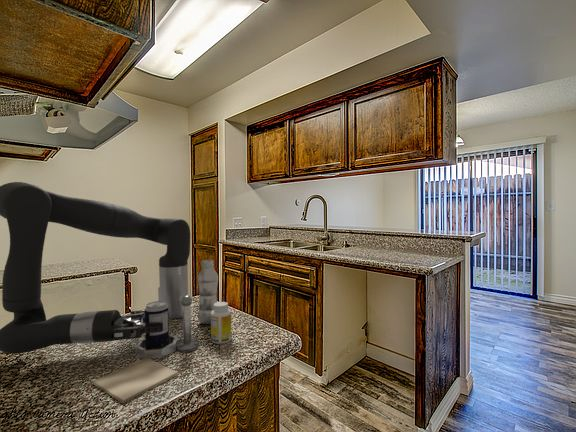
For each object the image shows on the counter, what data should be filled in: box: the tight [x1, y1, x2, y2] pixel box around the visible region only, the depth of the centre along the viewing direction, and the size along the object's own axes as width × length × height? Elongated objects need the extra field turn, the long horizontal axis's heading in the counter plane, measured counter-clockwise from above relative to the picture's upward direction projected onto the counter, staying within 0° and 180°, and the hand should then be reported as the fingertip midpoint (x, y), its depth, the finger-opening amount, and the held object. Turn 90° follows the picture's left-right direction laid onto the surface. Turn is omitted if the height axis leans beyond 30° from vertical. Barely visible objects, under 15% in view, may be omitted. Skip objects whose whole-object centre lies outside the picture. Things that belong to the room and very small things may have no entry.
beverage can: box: [144, 300, 170, 349], centre depth 81 cm, size 6×6×12 cm
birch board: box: [92, 358, 178, 405], centre depth 67 cm, size 12×12×1 cm
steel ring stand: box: [135, 295, 200, 359], centre depth 81 cm, size 13×13×14 cm
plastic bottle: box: [197, 259, 219, 325], centre depth 99 cm, size 6×7×20 cm
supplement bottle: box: [210, 301, 233, 345], centre depth 86 cm, size 6×6×10 cm
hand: (165, 321), depth 81 cm, fingers open, 7 cm apart
